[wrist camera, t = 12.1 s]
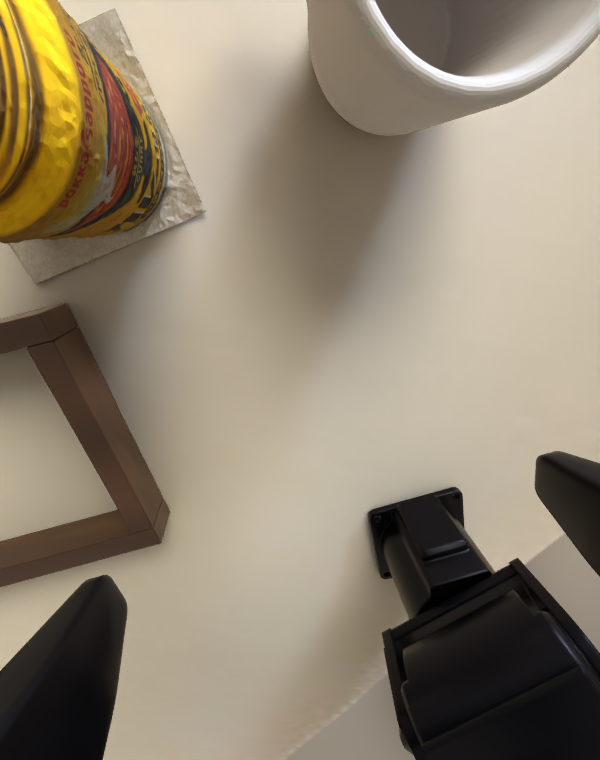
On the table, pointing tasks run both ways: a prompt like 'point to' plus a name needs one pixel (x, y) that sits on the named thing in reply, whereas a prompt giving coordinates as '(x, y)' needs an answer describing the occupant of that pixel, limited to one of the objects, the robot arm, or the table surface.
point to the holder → (100, 441)
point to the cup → (440, 55)
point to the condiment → (80, 141)
